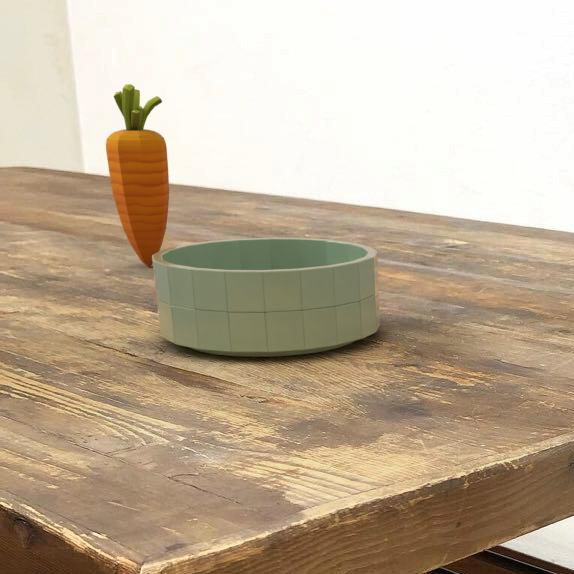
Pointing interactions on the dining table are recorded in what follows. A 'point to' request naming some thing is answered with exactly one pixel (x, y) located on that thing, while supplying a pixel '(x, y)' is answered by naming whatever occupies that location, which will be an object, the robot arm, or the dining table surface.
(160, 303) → the bowl
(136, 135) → the carrot
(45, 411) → the dining table surface
